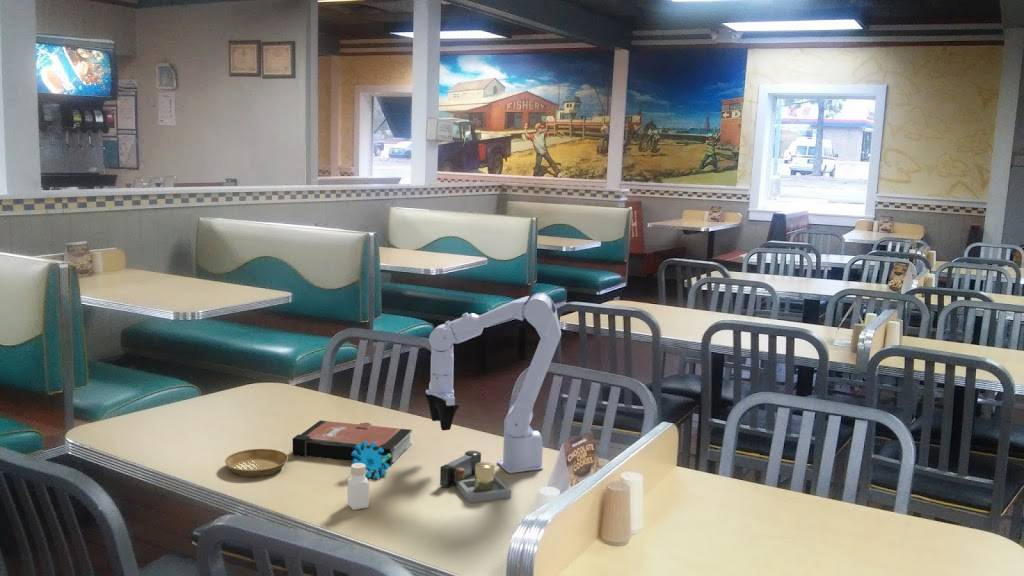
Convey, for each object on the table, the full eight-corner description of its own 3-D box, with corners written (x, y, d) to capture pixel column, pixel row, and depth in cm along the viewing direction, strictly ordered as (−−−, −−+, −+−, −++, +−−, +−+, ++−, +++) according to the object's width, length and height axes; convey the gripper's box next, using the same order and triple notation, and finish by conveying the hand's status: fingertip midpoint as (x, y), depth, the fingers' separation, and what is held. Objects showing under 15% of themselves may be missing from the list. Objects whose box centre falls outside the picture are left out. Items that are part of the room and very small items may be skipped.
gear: (361, 478, 205) (348, 441, 210) (349, 490, 209) (337, 453, 213) (399, 474, 213) (386, 437, 218) (387, 485, 216) (375, 449, 221)
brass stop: (492, 486, 206) (494, 462, 204) (492, 494, 201) (494, 470, 200) (473, 485, 205) (475, 461, 204) (473, 493, 201) (475, 468, 200)
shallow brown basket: (268, 454, 224) (268, 444, 224) (299, 470, 214) (299, 460, 214) (214, 467, 214) (214, 457, 214) (244, 485, 204) (243, 475, 203)
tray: (496, 483, 210) (496, 475, 209) (510, 497, 201) (511, 490, 201) (456, 488, 206) (456, 480, 205) (470, 503, 198) (470, 495, 197)
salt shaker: (352, 511, 191) (352, 469, 190) (346, 504, 195) (346, 463, 193) (369, 508, 193) (370, 467, 192) (364, 501, 197) (364, 461, 195)
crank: (470, 467, 219) (470, 449, 218) (483, 470, 217) (484, 452, 216) (436, 484, 207) (437, 466, 206) (450, 488, 205) (451, 469, 204)
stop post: (462, 483, 209) (462, 467, 208) (465, 486, 207) (465, 470, 206) (453, 484, 208) (454, 468, 207) (456, 487, 206) (457, 471, 205)
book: (412, 445, 235) (412, 427, 234) (390, 468, 218) (390, 449, 217) (321, 435, 240) (321, 417, 239) (292, 457, 223) (292, 438, 223)
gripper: (418, 366, 224) (417, 417, 227) (435, 381, 211) (434, 435, 213) (444, 364, 227) (443, 415, 229) (463, 379, 214) (462, 432, 216)
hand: (440, 425), depth 222 cm, fingers open, 7 cm apart
